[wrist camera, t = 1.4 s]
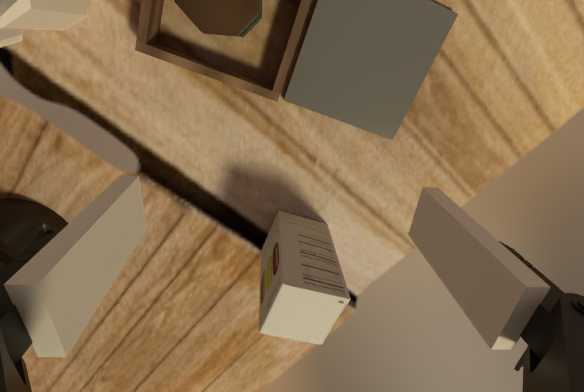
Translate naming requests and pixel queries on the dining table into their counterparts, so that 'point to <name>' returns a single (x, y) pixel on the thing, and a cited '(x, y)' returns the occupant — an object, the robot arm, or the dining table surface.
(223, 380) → the dining table surface
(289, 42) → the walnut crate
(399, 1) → the slate pad
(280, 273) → the supplement box
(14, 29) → the mug
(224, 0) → the beer bottle
